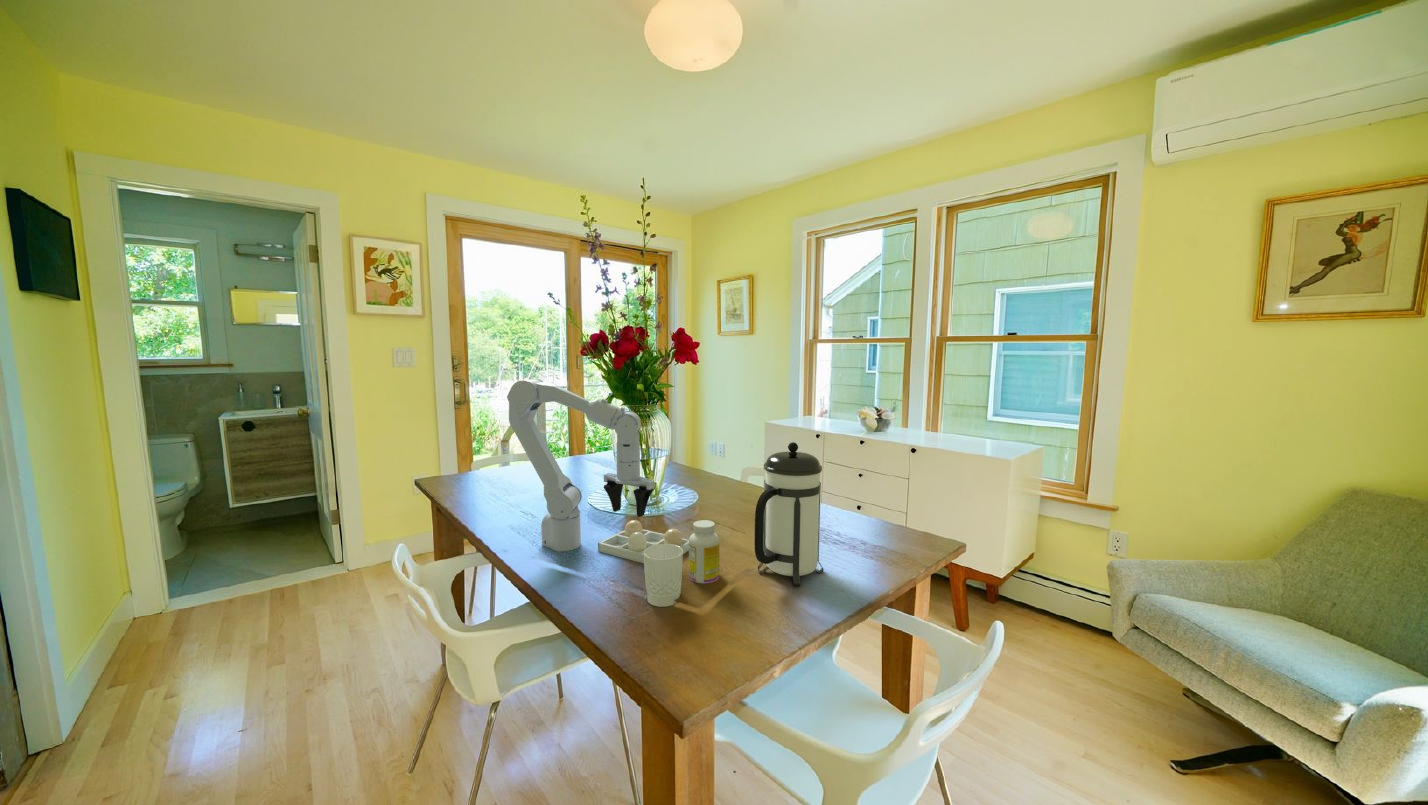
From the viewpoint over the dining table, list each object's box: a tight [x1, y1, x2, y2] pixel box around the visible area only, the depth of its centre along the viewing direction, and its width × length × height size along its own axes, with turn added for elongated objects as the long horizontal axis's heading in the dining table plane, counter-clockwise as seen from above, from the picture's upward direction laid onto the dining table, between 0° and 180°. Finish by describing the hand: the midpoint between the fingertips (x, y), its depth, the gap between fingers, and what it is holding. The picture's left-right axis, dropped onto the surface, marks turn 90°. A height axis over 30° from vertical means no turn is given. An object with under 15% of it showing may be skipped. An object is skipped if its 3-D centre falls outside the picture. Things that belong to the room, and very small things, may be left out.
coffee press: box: [754, 441, 824, 588], centre depth 108 cm, size 17×16×30 cm
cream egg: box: [628, 532, 647, 552], centre depth 117 cm, size 4×4×5 cm
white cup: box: [643, 544, 684, 608], centre depth 97 cm, size 8×8×10 cm
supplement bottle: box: [688, 519, 720, 584], centre depth 105 cm, size 7×7×13 cm
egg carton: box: [597, 528, 689, 564], centre depth 120 cm, size 19×13×3 cm
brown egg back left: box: [624, 519, 643, 537], centre depth 126 cm, size 4×4×5 cm
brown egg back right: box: [664, 528, 683, 547], centre depth 119 cm, size 4×4×5 cm
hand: (628, 513), depth 122 cm, fingers open, 7 cm apart
